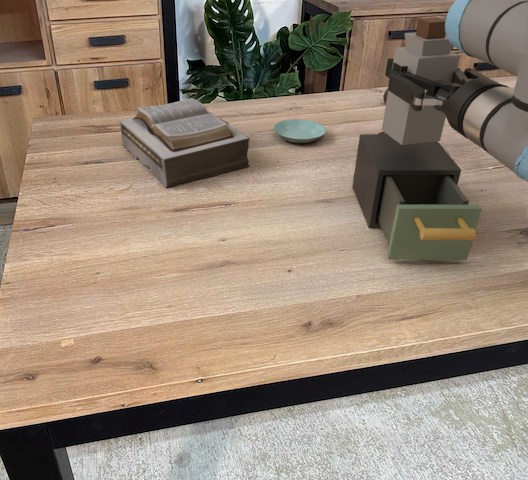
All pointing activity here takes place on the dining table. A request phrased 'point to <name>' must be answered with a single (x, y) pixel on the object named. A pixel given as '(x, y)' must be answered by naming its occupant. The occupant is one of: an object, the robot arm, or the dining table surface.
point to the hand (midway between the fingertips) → (407, 65)
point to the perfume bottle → (428, 66)
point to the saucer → (299, 130)
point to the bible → (184, 142)
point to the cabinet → (394, 167)
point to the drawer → (426, 218)
